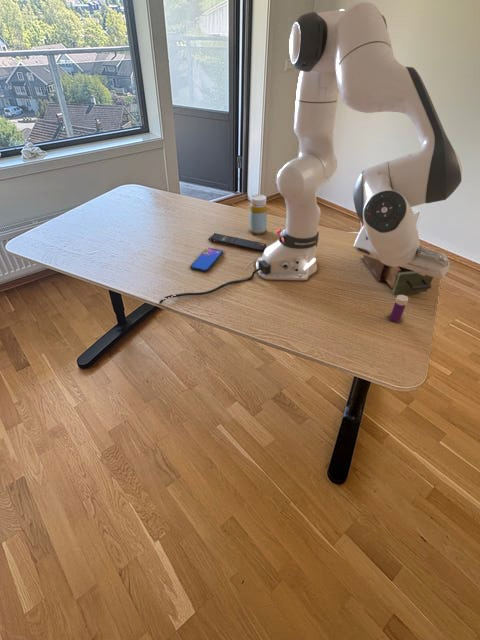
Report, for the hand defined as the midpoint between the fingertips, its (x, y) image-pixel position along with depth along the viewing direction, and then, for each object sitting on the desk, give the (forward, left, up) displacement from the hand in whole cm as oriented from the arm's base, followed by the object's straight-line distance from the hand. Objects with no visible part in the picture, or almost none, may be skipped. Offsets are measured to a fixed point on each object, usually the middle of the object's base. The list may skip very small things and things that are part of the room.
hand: (403, 266), depth 85 cm
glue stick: (+7, +6, -23) cm, 25 cm away
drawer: (+17, +21, -22) cm, 35 cm away
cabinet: (+17, +33, -23) cm, 43 cm away
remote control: (-35, +59, -23) cm, 72 cm away
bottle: (-25, +69, -23) cm, 77 cm away
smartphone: (-48, +48, -23) cm, 71 cm away
